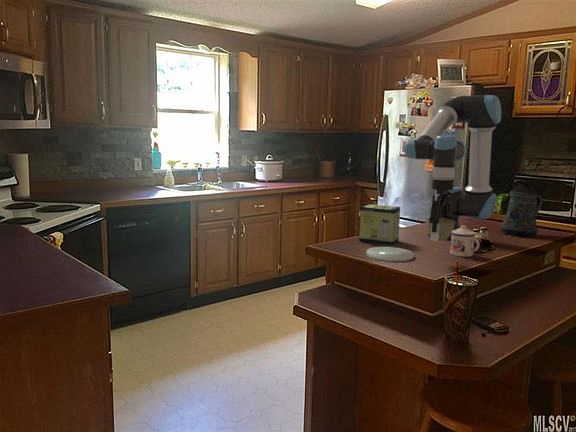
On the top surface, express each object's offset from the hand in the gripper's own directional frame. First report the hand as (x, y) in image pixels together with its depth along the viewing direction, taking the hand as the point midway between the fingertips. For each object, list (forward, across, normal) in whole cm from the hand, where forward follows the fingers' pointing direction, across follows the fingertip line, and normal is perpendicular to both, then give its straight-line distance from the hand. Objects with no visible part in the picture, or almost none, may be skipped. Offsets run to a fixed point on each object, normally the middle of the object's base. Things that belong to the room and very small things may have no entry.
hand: (439, 238), depth 187 cm
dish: (+9, +3, -18) cm, 20 cm away
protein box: (+10, -20, -33) cm, 40 cm away
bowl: (+1, 0, 0) cm, 1 cm away
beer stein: (+11, -83, +14) cm, 85 cm away
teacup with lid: (+10, -18, +5) cm, 21 cm away
